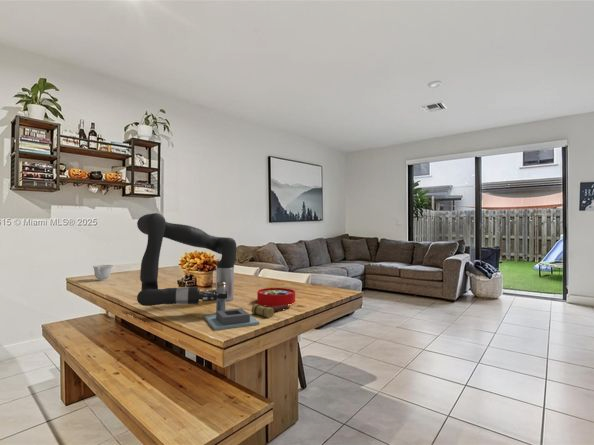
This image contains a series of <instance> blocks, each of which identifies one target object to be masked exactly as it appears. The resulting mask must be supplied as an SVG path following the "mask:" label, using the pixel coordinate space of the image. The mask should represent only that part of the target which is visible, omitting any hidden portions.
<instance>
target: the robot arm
mask: <svg viewBox="0 0 594 445" xmlns="http://www.w3.org/2000/svg"><path fill="white" fill-rule="evenodd" d="M136 226H137V228H138V231H139V232H140V233H141V234H142V233H143V234H144V235H147V242H146V248H145V251H144V253H143V255H142V259H141V264H140V270H139V271H140V272H139V277H140V278H139V279H140V282H141V288H140V289H141V290H140V291H139V292H138V294H137V296H136V301H137V303H138V304H139V305H140V306H144V307H150V306H159V305H184V306H185V305H199V304H200V300H202V302H214V301H215V302H216V300H217V299H218V298H219V299H226V302H228V301H229V302H230V301H233V300H234V287H235V286H234V285H235V284H234V283H235V282H234V281H235V280H234V279H235V275H234V273H235V264H236V258H237V242H236V240H235V239H234V238H233V237H222V236H221V237H220V236H215V235H212V234H208V233H207V232H206V231H204V230H203V229H200V228H198V227H195V226H192V225H187V224H181V223H174V222H167V221H166V219H165V217H164V216H163V214H161V213H157V212H154V213H148V214H147V213H146V214H144V215H142V216H141V217H139V218H138V219H137V223H136ZM164 238H165V239H169V240H171V241H174V242H177V243H180V244H183V245H186V246H190V247H194V248H199V249H200V248H201V249H207V250H209V251H212V252H215V253H216V254H219V255H221V259H219V260H218V261H217V262H216V267H215V268H216V271H215V275H216V276H215V277H216V278H215V285H216V286H215V289H207V288H205V289H204V290H203V291H201V290H200V287H199V286H181V287H180V286H179V287H166V288H159V285H158V284H159V283H158V277H159V267H160V266H159V264H160V263H159V262H160V255H161V249H162V244H163V239H164ZM217 282H226V293H221V294H219V295H218V293H217Z"/></svg>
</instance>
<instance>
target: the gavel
mask: <svg viewBox="0 0 594 445" xmlns="http://www.w3.org/2000/svg"><path fill="white" fill-rule="evenodd" d="M289 307H290V308H291V305H289V306H288V305H280V306H264V305H260V304H258V303H254V304H253V305H252V307H251V313H252V314H253V315H258V316H260V317H261V316H262V317H264V318H267V319H271V318H273V317H274V314H275V313H276V311H277V312H281V311H280V310H282V311H284V310H283V309H286V310H288V309H290V308H289ZM287 308H288V309H287ZM272 316H273V317H272ZM270 317H271V318H270Z"/></svg>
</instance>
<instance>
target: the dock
mask: <svg viewBox="0 0 594 445" xmlns="http://www.w3.org/2000/svg"><path fill="white" fill-rule="evenodd" d="M204 319H205V321H206V322H207V323H208V324H209V325H210V326H211V328H212V329H213V330H214V331H219V330H220V331H221V330H226V329H234V328H241V327H242V328H243V327H249V326H250V327H251V326H257V325H260V321H259V320H257V319H256V318H255V317H253V316H252V315H251V314H250V313H248V311H246V310H244V309H243V308H241V307H240V308H230V309H225V310H219V311H216V310H215V314H208V315H207V314H206V315H204Z"/></svg>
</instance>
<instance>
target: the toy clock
mask: <svg viewBox="0 0 594 445" xmlns="http://www.w3.org/2000/svg"><path fill="white" fill-rule="evenodd" d="M256 292H257V293H256V295H257V298H256V300H257V302H256V304H258V305H260V304H261V305H260V306H264V305H265V306H264V307H273V306H280V305H288V304H292V303H294V302H295V303H296V290H294V289H291V288H286V287H266V288H260V289H257V291H256ZM295 303H294V304H295ZM292 305H293V304H292Z"/></svg>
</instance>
